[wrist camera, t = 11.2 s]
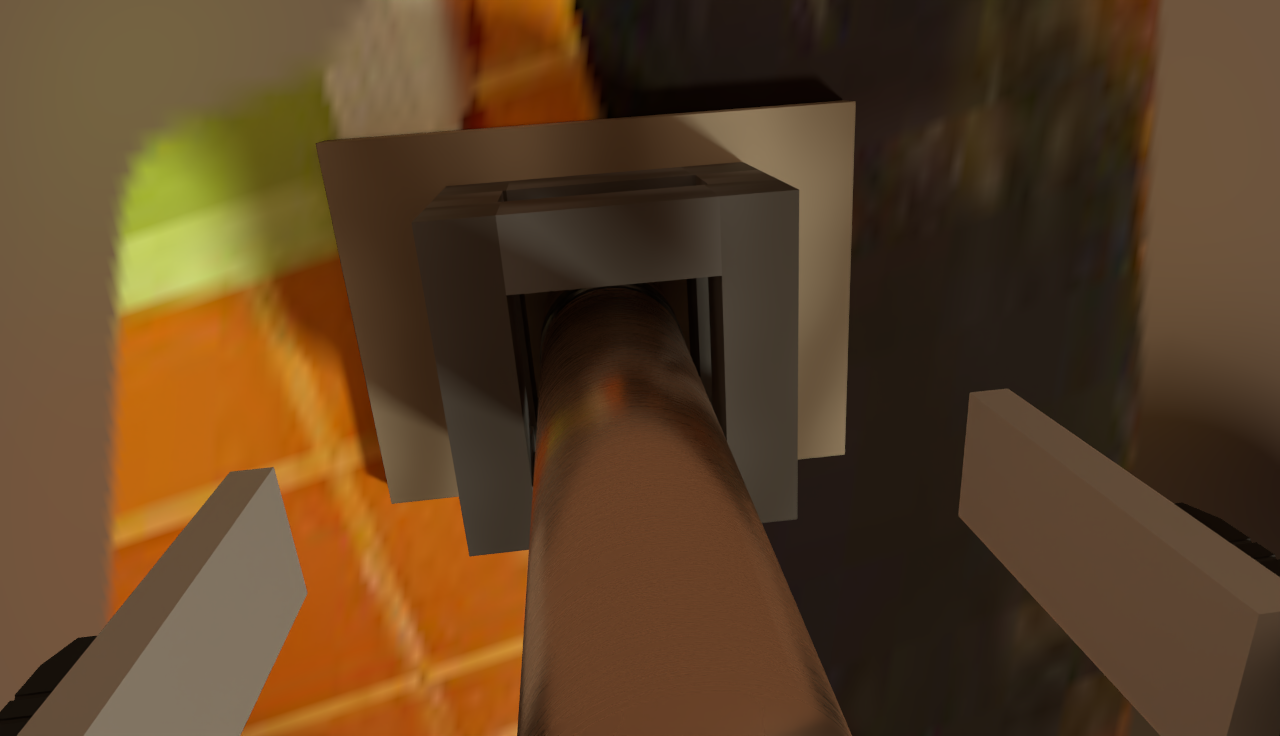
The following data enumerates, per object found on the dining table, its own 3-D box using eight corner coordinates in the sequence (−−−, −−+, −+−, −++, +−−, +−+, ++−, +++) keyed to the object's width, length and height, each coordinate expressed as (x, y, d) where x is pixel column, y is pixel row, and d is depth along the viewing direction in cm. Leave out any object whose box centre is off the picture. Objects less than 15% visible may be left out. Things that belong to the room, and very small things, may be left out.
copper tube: (549, 380, 26) (530, 974, 9) (535, 259, 24) (479, 715, 8) (672, 368, 26) (867, 926, 9) (666, 248, 24) (887, 664, 8)
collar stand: (397, 489, 28) (348, 617, 21) (325, 140, 23) (235, 167, 17) (835, 441, 29) (916, 550, 22) (844, 100, 24) (948, 111, 18)
